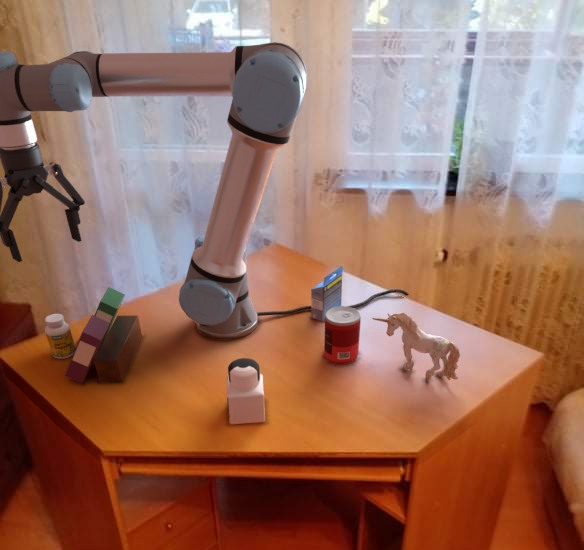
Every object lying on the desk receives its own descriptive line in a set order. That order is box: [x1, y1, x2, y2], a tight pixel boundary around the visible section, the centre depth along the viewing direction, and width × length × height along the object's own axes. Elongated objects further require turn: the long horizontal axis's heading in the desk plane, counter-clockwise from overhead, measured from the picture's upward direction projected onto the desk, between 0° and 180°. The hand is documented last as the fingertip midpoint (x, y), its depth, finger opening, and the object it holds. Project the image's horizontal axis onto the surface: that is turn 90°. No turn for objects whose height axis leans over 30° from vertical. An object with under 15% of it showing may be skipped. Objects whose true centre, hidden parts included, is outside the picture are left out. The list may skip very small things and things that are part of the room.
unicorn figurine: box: [371, 311, 461, 381], centre depth 128 cm, size 7×20×13 cm, turn 68°
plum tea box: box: [64, 314, 110, 384], centre depth 128 cm, size 4×7×13 cm, turn 1°
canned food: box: [323, 305, 362, 366], centre depth 134 cm, size 8×8×11 cm
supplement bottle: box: [44, 313, 76, 360], centre depth 136 cm, size 5×5×10 cm
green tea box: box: [94, 286, 126, 351], centre depth 138 cm, size 4×7×13 cm, turn 1°
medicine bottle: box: [226, 357, 266, 425], centre depth 117 cm, size 7×7×12 cm
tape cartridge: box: [310, 264, 344, 322], centre depth 149 cm, size 9×4×12 cm, turn 144°
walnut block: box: [93, 315, 143, 384], centre depth 135 cm, size 5×19×6 cm, turn 178°
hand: (48, 249), depth 126 cm, fingers open, 13 cm apart
